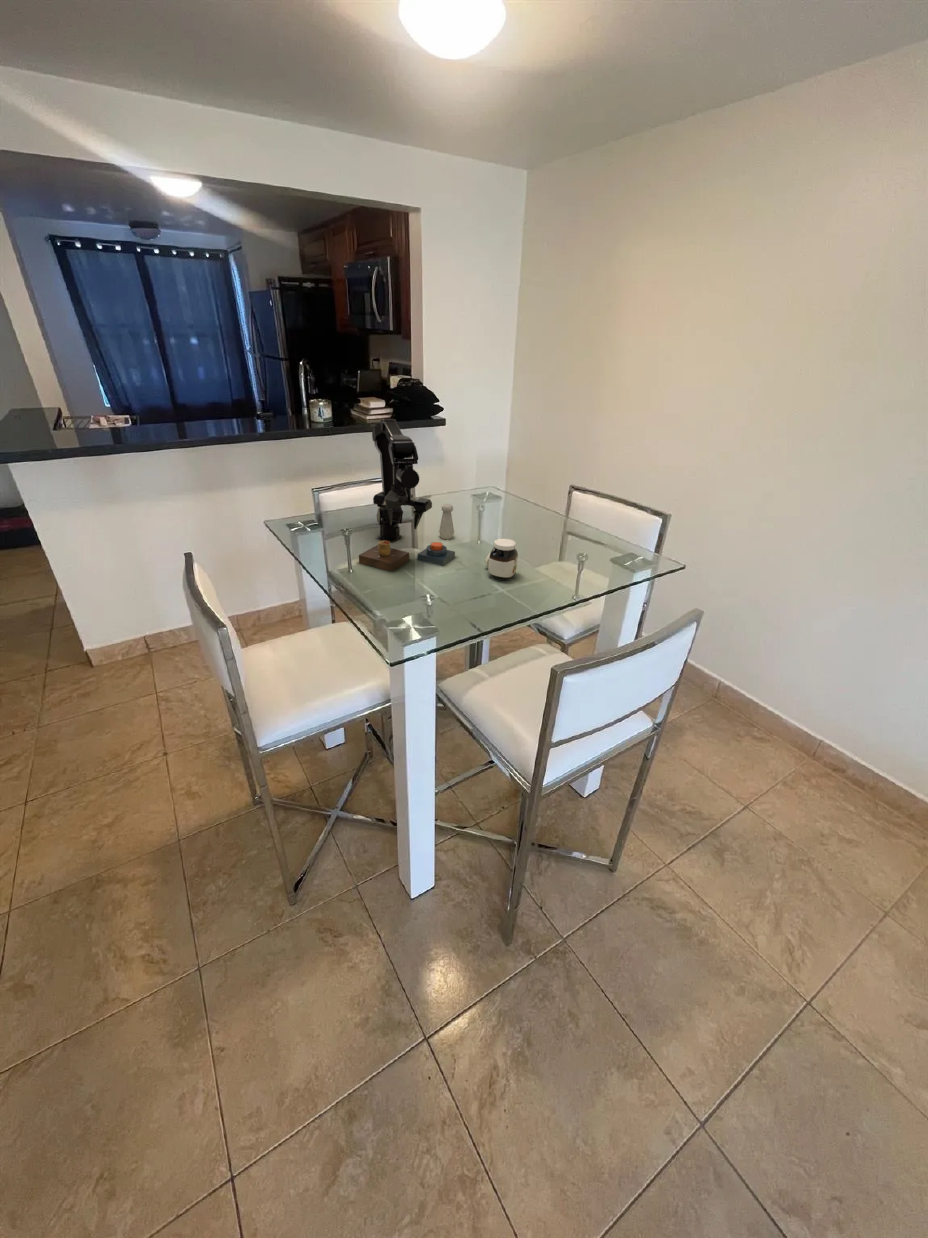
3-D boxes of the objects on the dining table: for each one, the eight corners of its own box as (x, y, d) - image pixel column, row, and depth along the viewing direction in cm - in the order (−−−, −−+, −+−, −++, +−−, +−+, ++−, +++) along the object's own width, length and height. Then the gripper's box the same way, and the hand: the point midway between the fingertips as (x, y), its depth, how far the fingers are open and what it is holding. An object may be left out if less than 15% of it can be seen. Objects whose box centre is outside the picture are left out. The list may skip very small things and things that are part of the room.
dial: (375, 554, 171) (375, 542, 169) (382, 550, 174) (382, 538, 172) (386, 556, 169) (385, 544, 167) (392, 552, 173) (392, 540, 170)
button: (428, 549, 175) (428, 544, 174) (434, 545, 178) (434, 541, 178) (438, 551, 174) (439, 547, 173) (444, 548, 177) (444, 543, 176)
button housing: (417, 559, 176) (417, 549, 174) (430, 551, 183) (430, 541, 181) (442, 566, 172) (443, 555, 171) (454, 557, 180) (455, 546, 178)
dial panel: (359, 563, 171) (358, 554, 170) (377, 552, 180) (377, 544, 178) (391, 571, 166) (391, 562, 165) (409, 560, 175) (409, 551, 174)
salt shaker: (451, 541, 193) (453, 507, 187) (437, 539, 194) (438, 506, 188) (455, 536, 198) (456, 503, 192) (440, 534, 199) (441, 501, 193)
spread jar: (505, 584, 162) (508, 549, 157) (474, 575, 167) (476, 541, 162) (521, 571, 171) (525, 539, 166) (492, 563, 176) (495, 531, 171)
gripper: (363, 481, 158) (365, 529, 166) (418, 490, 153) (418, 539, 160) (380, 474, 167) (382, 519, 175) (433, 481, 162) (432, 528, 170)
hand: (402, 526), depth 170 cm, fingers open, 9 cm apart
